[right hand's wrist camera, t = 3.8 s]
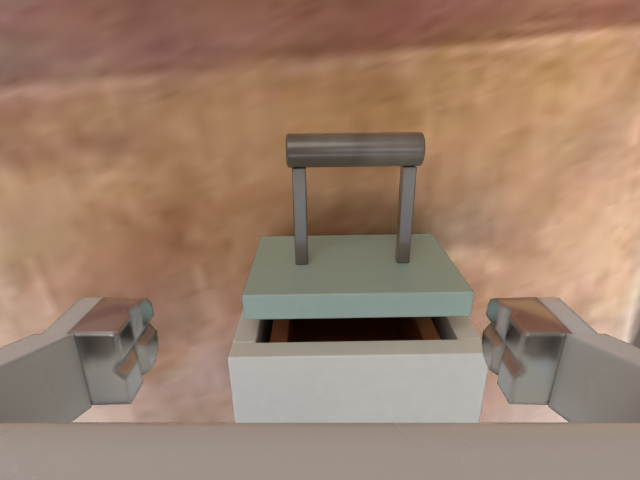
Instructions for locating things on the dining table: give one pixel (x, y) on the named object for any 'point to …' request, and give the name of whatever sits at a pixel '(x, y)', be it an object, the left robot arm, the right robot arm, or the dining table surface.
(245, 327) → the white open box
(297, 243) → the drawer
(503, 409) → the dining table surface
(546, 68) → the dining table surface
